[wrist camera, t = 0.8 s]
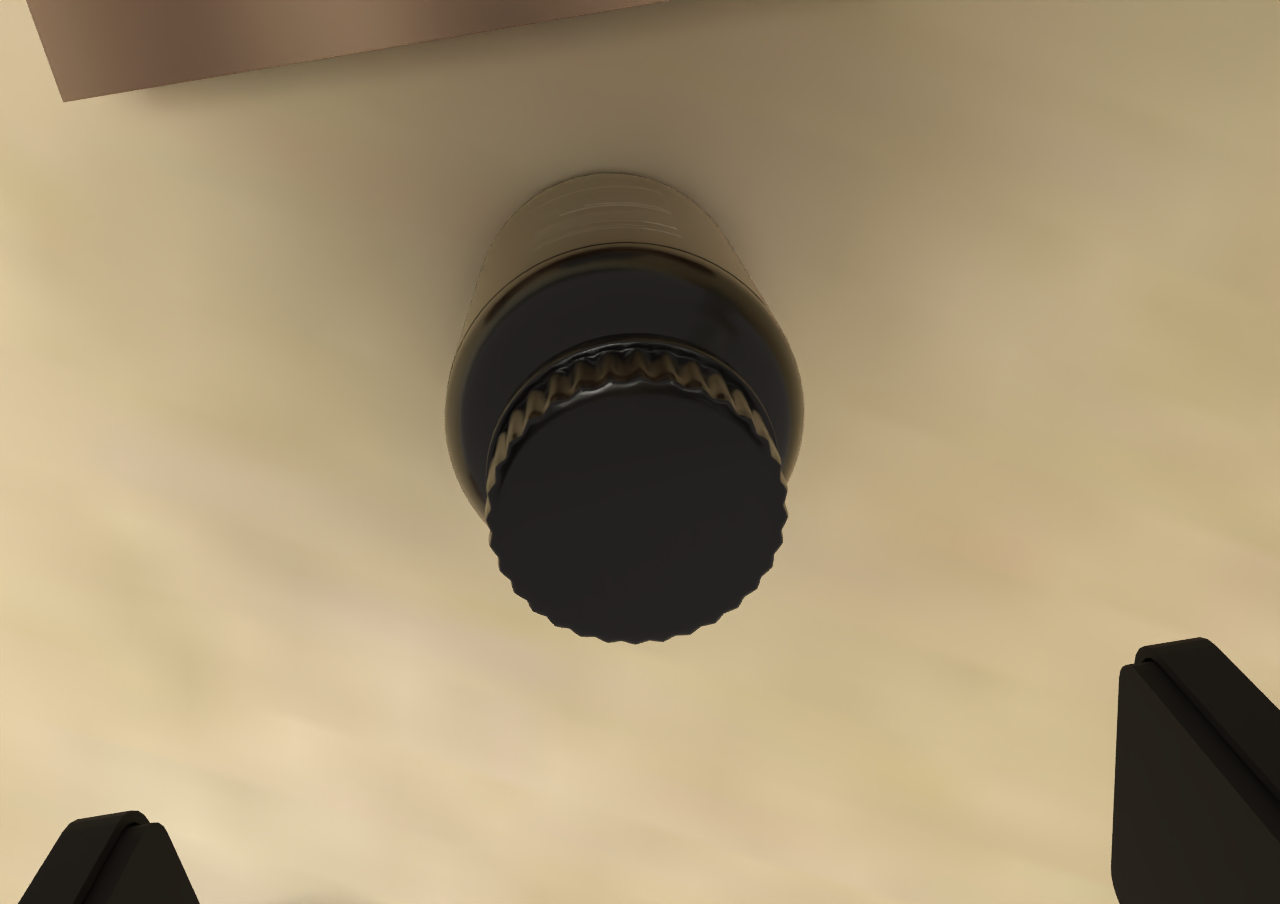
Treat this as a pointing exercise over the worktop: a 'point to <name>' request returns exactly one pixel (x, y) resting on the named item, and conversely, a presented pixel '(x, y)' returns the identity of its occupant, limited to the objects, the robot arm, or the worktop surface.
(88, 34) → the walnut rail
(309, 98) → the worktop surface
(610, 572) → the supplement bottle
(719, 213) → the worktop surface
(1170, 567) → the worktop surface
